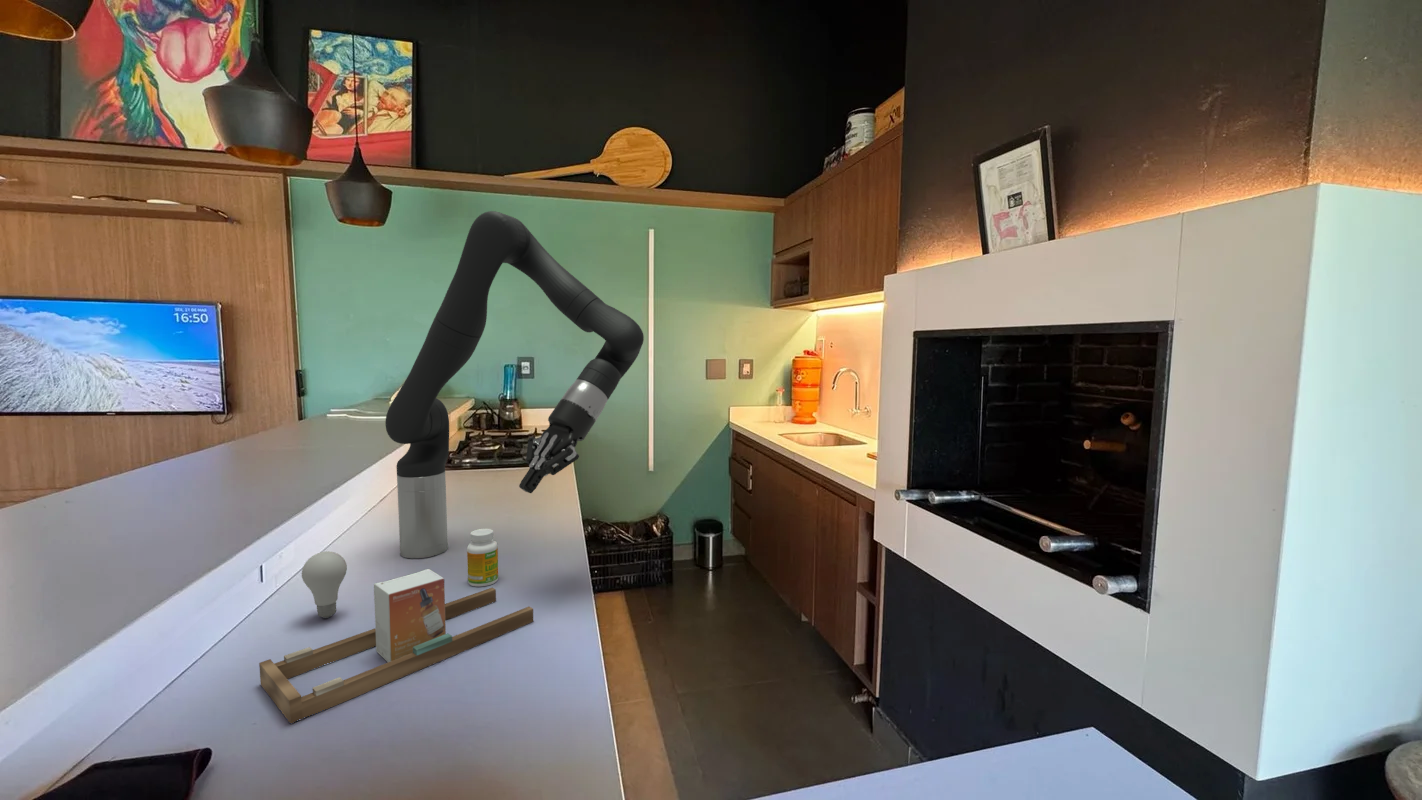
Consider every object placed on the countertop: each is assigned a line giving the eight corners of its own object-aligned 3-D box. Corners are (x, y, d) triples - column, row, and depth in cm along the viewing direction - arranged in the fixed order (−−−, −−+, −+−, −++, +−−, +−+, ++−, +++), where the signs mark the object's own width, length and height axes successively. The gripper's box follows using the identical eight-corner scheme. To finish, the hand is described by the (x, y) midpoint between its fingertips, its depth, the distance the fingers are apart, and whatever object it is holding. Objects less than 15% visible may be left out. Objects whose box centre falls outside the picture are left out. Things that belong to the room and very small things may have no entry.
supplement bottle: (487, 588, 106) (486, 537, 105) (461, 585, 107) (460, 535, 106) (504, 577, 111) (502, 528, 110) (479, 574, 113) (477, 526, 112)
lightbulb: (357, 612, 96) (354, 548, 95) (322, 629, 91) (319, 561, 90) (331, 606, 98) (327, 544, 97) (295, 622, 93) (291, 556, 92)
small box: (390, 667, 81) (386, 594, 80) (375, 652, 84) (372, 583, 83) (447, 645, 87) (445, 577, 86) (431, 632, 90) (429, 567, 89)
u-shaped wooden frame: (260, 684, 76) (259, 662, 76) (492, 599, 102) (491, 583, 102) (290, 724, 68) (289, 700, 68) (533, 621, 94) (533, 603, 94)
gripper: (544, 393, 109) (489, 472, 102) (589, 402, 100) (532, 488, 93) (569, 416, 114) (518, 492, 107) (613, 426, 105) (561, 509, 98)
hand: (524, 490), depth 100 cm, fingers closed
